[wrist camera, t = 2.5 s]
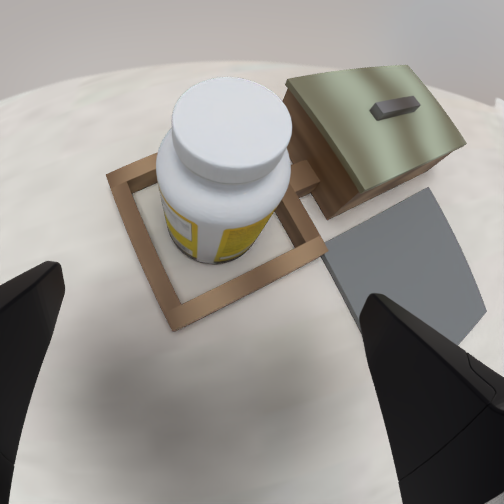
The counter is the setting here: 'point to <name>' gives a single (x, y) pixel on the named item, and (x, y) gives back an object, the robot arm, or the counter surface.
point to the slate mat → (408, 266)
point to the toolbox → (315, 169)
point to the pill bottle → (223, 167)
